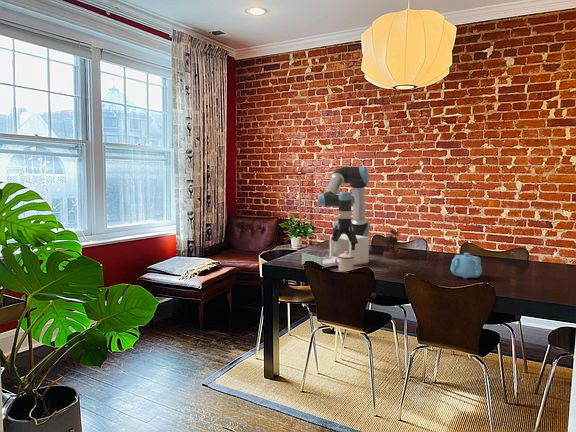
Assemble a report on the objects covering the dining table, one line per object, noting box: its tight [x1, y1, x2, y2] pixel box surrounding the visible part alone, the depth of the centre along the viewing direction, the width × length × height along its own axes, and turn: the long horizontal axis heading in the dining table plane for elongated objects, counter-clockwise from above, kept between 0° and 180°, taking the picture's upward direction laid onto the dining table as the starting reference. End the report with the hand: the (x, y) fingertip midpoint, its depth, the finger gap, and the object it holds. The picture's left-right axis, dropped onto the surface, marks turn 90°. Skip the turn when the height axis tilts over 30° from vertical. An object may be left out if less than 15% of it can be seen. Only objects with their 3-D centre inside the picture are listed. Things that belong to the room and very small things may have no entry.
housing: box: [329, 234, 370, 266], centre depth 282 cm, size 20×16×17 cm
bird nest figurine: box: [379, 228, 401, 260], centre depth 296 cm, size 15×11×20 cm
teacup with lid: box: [335, 251, 354, 272], centre depth 257 cm, size 12×9×12 cm
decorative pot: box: [450, 252, 483, 280], centre depth 243 cm, size 16×16×14 cm
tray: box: [301, 252, 339, 268], centre depth 271 cm, size 19×24×7 cm
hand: (344, 253), depth 256 cm, fingers open, 13 cm apart
